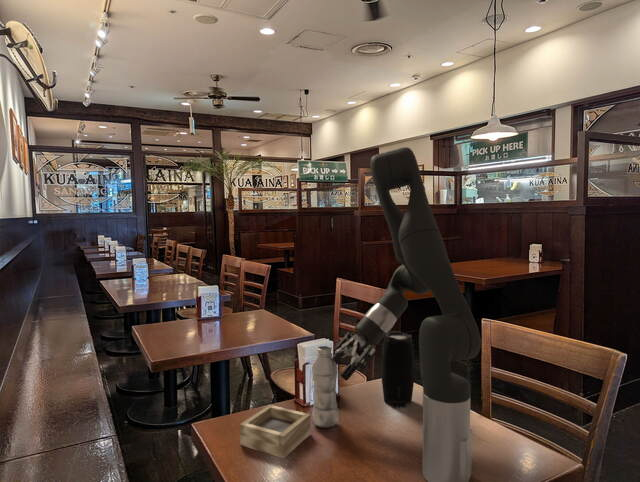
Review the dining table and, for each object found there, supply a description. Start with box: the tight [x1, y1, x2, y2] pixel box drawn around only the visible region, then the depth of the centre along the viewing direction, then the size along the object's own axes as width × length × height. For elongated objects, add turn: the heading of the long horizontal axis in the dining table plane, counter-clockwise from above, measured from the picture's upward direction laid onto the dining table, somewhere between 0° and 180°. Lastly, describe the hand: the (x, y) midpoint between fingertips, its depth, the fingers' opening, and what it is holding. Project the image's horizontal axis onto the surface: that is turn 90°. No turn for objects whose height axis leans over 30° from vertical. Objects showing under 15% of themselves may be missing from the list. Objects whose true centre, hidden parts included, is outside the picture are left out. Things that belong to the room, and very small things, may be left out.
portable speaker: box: [381, 330, 415, 408], centre depth 124 cm, size 9×9×20 cm
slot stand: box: [239, 404, 311, 459], centre depth 104 cm, size 12×12×5 cm
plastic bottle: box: [311, 345, 339, 429], centre depth 111 cm, size 6×7×20 cm
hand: (336, 372), depth 112 cm, fingers open, 8 cm apart
